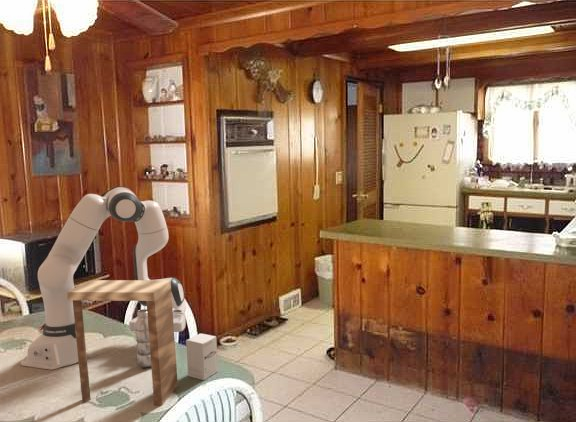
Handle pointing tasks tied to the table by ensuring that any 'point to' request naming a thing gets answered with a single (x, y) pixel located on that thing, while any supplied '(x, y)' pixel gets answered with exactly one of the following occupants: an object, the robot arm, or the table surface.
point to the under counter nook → (158, 325)
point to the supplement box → (202, 356)
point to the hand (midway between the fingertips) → (149, 331)
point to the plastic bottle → (142, 339)
